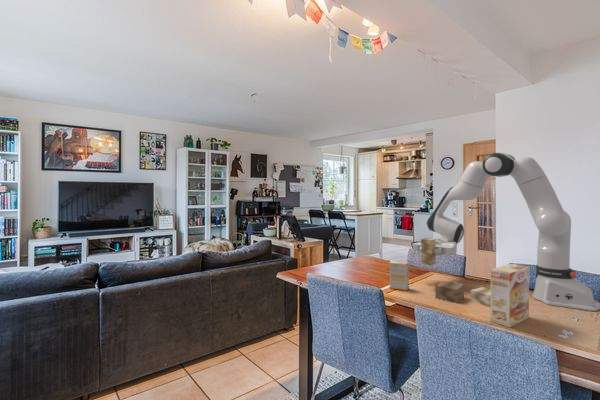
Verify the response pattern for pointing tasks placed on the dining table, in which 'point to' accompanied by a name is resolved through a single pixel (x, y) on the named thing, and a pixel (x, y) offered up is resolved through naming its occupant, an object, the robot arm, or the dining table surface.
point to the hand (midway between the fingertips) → (427, 250)
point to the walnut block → (449, 291)
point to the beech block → (481, 296)
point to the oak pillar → (428, 251)
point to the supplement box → (399, 275)
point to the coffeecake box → (509, 294)
